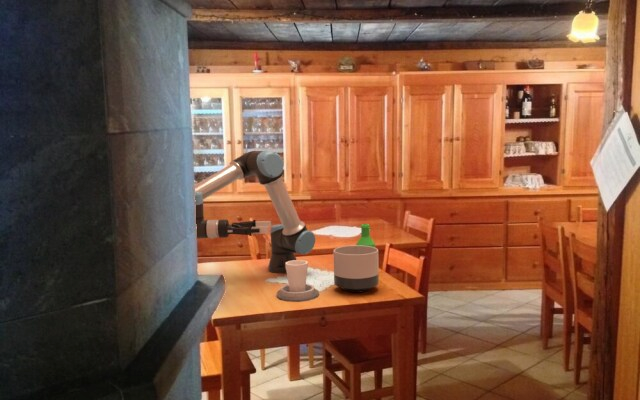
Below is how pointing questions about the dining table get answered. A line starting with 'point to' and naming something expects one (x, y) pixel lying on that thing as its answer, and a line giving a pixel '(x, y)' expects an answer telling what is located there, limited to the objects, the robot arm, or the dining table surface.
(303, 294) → the collar coaster
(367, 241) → the bottle
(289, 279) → the foam cup
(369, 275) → the planter
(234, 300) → the dining table surface
